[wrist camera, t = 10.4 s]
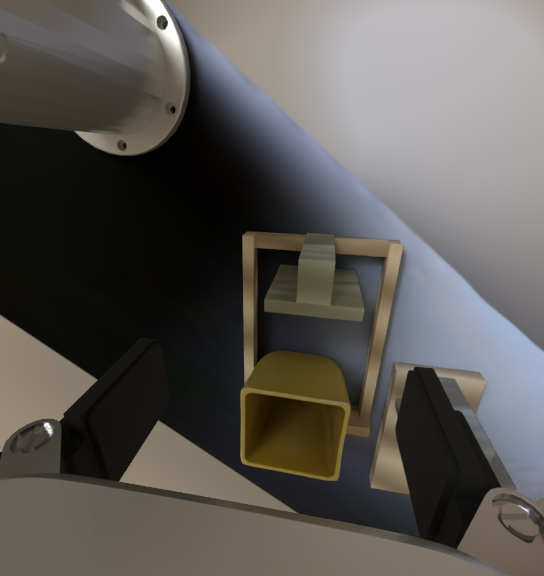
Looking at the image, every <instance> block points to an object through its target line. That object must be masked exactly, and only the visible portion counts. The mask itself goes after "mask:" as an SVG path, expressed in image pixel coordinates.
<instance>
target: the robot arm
mask: <svg viewBox="0 0 544 576" xmlns="http://www.w3.org/2000/svg"><path fill="white" fill-rule="evenodd" d="M167 24H168V27H167V28H166V25H167ZM189 92H190V65H189V58H188V51H187V48H186V45H185V41H184V38H183V35H182V32H181V30H180V28H179V26H178V24H177V21H176V19H175V17H174V15H173V14H172V12H171V11H170V10H169V8H168V7H167V5H166V4H165V2H164V1H163V0H0V123H7V124H16V125H25V126H34V127H44V128H53V129H62V130H71V131H74V132H76V133H77V134H78V135H79V136H80V137H81V138H82V139H83V140H85V141H86V142H88V143H89V144H91V145H92V146H94V147H95V148H98V149H100V150H102V151H105V152H107V153H111V154H116V155H122V156H134V155H141V154H146V153H148V152H151V151H153V150H156V149H157V148H159V147H160V146H161V145H163V144H164V143H166V142H167V141H168V139H169V138H170V137H171V136H172V135H173V134H174V133H175V131H176V130H177V128H178V126H179V124H180V123H181V121H182V119H183V116H184V113H185V110H186V107H187V104H188V98H189ZM174 107H175V113H173V108H174ZM126 145H127V147H126ZM169 400H170V394H169V388H168V382H167V376H166V370H165V363H164V357H163V351H162V346H161V344H158V341H157V340H155V339H146V338H141V339H140V340H138V341H137V342H136V343H135V344H134V345H133V346H132V347H131V348H130V349H129V350H128V351H127V352H126V353H125V354H124V355H123V356H122V357H121V358H120V359H119V360H118V361H117V362H116V363H115V364H114V365H113V366H112V367H111V368H110V369H109V370H108V371H107V372H106V373H105V374H104V375H103V376H102V377H101V378H100V379H99V380H98V381H97V382H96V383H94V385H92V386H91V387H90V388H89V390H87V391H86V392H85V393H84V394H83V395H82V396H81V397H80V398H79V399H78V400H77V401H76V402H75V403H74V404H73V405H72V406H71V407H70V408H69V409H68V410H67V411H66V412H65V413H64V418H63V419H62V420H60V421H59V422H58V421H57V420H54V419H42V420H38V421H35V422H32V423H30V424H27V425H26V426H24V427H22V428H20V429H19V430H18V431H16V432H15V433H14V434H12V436H10V438H9V439H8V440H7V441H6V443H5V445H4V447H3V450H2V452H0V576H544V510H543V509H542V508H541V507H540V506H539V505H538V504H536V503H535V502H534V501H532V500H531V499H530V498H528V497H526V496H524V495H523V494H521V493H519V492H517V491H514V490H511V489H507V488H502V487H501V485H500V483H499V481H498V479H497V477H496V475H495V473H494V472H493V470H492V468H491V466H490V464H489V462H488V460H487V458H486V456H485V454H484V453H483V451H482V449H481V447H480V445H479V443H478V441H477V439H476V437H475V435H474V433H473V432H472V430H471V428H470V426H469V424H468V422H467V420H466V418H465V416H464V415H463V413H462V412H461V411H459V410H454V408H453V406H452V404H451V402H450V400H449V398H448V396H447V394H446V392H445V390H444V388H443V386H442V384H441V382H440V380H439V378H438V376H437V374H436V372H435V370H434V369H433V368H426V367H417V366H416V367H414V369H413V370H409V371H408V373H407V378H406V382H405V387H404V391H403V395H402V400H401V404H400V409H399V413H398V418H397V422H396V427H395V433H396V439H397V443H398V447H399V452H400V456H401V460H402V464H403V468H404V472H405V476H406V480H407V485H408V489H409V493H410V497H411V501H412V505H413V509H414V513H415V518H416V522H417V526H418V530H419V534H420V537H421V538H417V537H413V536H409V535H405V534H400V533H395V532H390V531H385V530H380V529H375V528H370V527H365V526H361V525H356V524H351V523H345V522H340V521H334V520H329V519H324V518H318V517H313V516H308V515H302V514H297V513H292V512H286V511H281V510H275V509H270V508H264V507H259V506H253V505H248V504H242V503H236V502H231V501H225V500H220V499H214V498H209V497H203V496H198V495H192V494H187V493H181V492H175V491H169V490H163V489H157V488H152V487H146V486H141V485H135V484H129V483H123V482H119V481H120V479H121V477H122V476H123V474H124V473H125V471H126V470H127V468H128V466H129V465H130V463H131V462H132V460H133V459H134V457H135V456H136V454H137V453H138V451H139V449H140V448H141V446H142V445H143V443H144V441H145V440H146V438H147V437H148V435H149V434H150V432H151V431H152V429H153V427H154V426H155V424H156V423H157V421H158V420H159V418H160V417H161V415H162V413H163V412H164V410H165V409H166V407H167V406H168V403H169Z"/></svg>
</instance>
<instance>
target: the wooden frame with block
mask: <svg viewBox="0 0 544 576" xmlns="http://www.w3.org/2000/svg"><path fill="white" fill-rule="evenodd" d="M242 240H243V311H244V382H245V383H246V381H247V380H248V378H249V376H250V375H251V373H252V371H253V370H254V368H255V367H256V365H257V308H258V248H266V249H279V250H293V251H301V254H300V257H299V265H298V266H295V265H282V264H281V265H280V267H279V269H278V271H277V273H276V276H275V278H274V280H273V282H272V284H271V286H270V288H269V290H268V293H267V295H266V297H265V299H264V312H273V313H283V314H293V315H302V316H312V317H322V318H331V319H341V320H351V321H361V322H363V316H364V310H365V308H364V304H363V299H362V295H361V290H360V286H359V282H358V277H357V273H356V270H346V269H335V254H349V255H363V256H377V257H384V260H383V266H382V271H381V277H380V283H379V289H378V294H377V300H376V306H375V312H374V317H373V323H372V329H371V335H370V340H369V346H368V352H367V358H366V363H365V369H364V375H363V381H362V386H361V392H360V398H359V404H358V406H355V405H351V411H350V416H349V421H348V425H347V430H346V434H350V435H356V436H362V437H369V434H370V429H371V428H370V422H369V419H370V413H371V408H372V403H373V398H374V393H375V388H376V383H377V378H378V373H379V368H380V363H381V358H382V352H383V347H384V342H385V337H386V332H387V327H388V322H389V317H390V312H391V307H392V302H393V297H394V292H395V286H396V281H397V276H398V271H399V266H400V261H401V256H402V251H403V245H402V244H401V243H400V241H395V240H379V239H364V238H348V237H334V234H320V233H307V235H301V234H285V233H269V232H254V231H247V232H246V233H245V234H244V235H242Z"/></svg>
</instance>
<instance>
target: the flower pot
mask: <svg viewBox="0 0 544 576" xmlns="http://www.w3.org/2000/svg"><path fill="white" fill-rule="evenodd" d="M350 411H351V405H350V401H349V397H348V393H347V389H346V385H345V381H344V377H343V374H342V371H341V369H340V368H339V366H338V365H337V364H336V363H335V362H334V361H332V360H331V359H329V358H327V357H325V356H322V355H315V354H308V353H300V352H293V351H286V350H280V351H274V352H271V353H269V354H267V355H265V356H264V357H263V358H262V359H261V360H260V361H259V362H258V364H257V365H256V367H255V368H254V370H253V371H252V373H251V375H250V376H249V378H248V380H247V381H246V383H245V385H244V386H243V388H242V390H241V461H242V463H243V464H245V465H249V466H254V467H258V468H264V469H270V470H275V471H281V472H286V473H292V474H297V475H302V476H306V477H311V478H316V479H322V480H327V481H337V480H338V478H339V472H340V464H341V458H342V451H343V445H344V440H345V435H346V430H347V425H348V421H349V416H350Z"/></svg>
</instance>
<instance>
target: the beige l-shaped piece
mask: <svg viewBox="0 0 544 576" xmlns="http://www.w3.org/2000/svg"><path fill="white" fill-rule="evenodd" d="M416 366H417V367H426V368H433V369H434V370H435V372H436V374H437V376H438V378H439V380H440V382H441V384H442V386H443V388H444V390H445V392H446V394H447V396H448V398H449V400H450V402H451V404H452V406H453V408H454V410H459V411H461V412H462V413H463V415H464V416H465V418H466V420H467V422H468V424H469V426H470V428H471V430H472V432H473V433H474V435H475V437H476V439H477V441H478V443H479V445H480V447H481V449H482V451H483V453H484V454H485V456H486V458H487V460H488V462H489V464H490V466H491V468H492V470H493V472H494V473H495V475H496V477H497V479H498V481H499V483H500V485H501V487H502V488H507V489H511V490H514V491H515V489H516V487H515V485H514V483H513V481H512V479H511V478H510V476H509V474H508V472H507V471H506V469H505V467H504V465H503V463H502V462H501V460H500V458H499V456H498V455H497V453H496V451H495V449H494V447H493V446H492V444H491V442H490V440H489V439H488V437H487V435H486V433H485V432H484V430H483V428H482V426H481V424H480V423H479V421H478V419H477V417H476V416H475V413H476V410H477V407H478V405H479V402H480V399H481V396H482V394H483V391H484V388H485V386H486V383H487V382H486V381H485V380H484V378H483V377H482V375H481V374H480V372H471V371H463V370H455V369H446V368H438V367H430V366H422V365H413V364H405V363H397V362H394V365H393V370H392V374H391V379H390V384H389V388H388V393H387V397H386V402H385V407H384V411H383V416H382V420H381V425H380V430H379V434H378V439H377V443H376V448H375V453H374V457H373V462H372V466H371V471H370V475H369V477H370V485H371V488H376V489H381V490H387V491H392V492H398V493H403V494H409V495H410V493H409V489H408V485H407V480H406V476H405V472H404V468H403V464H402V460H401V456H400V452H399V447H398V443H397V439H396V433H395V427H396V422H397V418H398V413H399V409H400V404H401V400H402V395H403V391H404V387H405V382H406V378H407V373H408V371H409V370H413V369H414V367H416Z"/></svg>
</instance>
